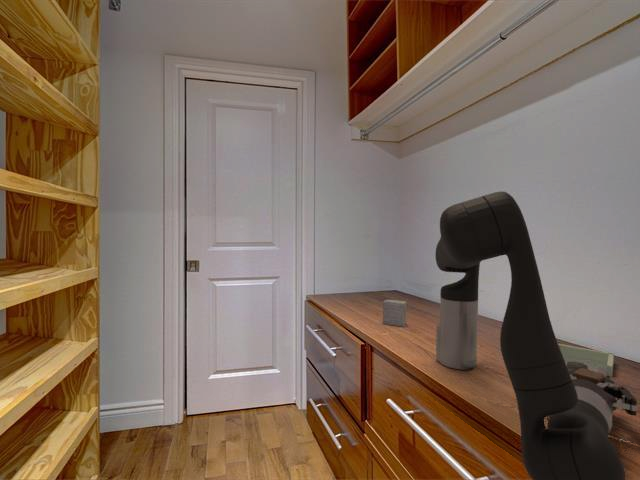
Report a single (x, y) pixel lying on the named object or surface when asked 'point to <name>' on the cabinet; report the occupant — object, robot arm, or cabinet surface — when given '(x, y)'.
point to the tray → (589, 355)
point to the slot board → (588, 363)
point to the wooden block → (589, 375)
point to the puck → (576, 365)
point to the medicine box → (394, 312)
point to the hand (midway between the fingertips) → (589, 378)
